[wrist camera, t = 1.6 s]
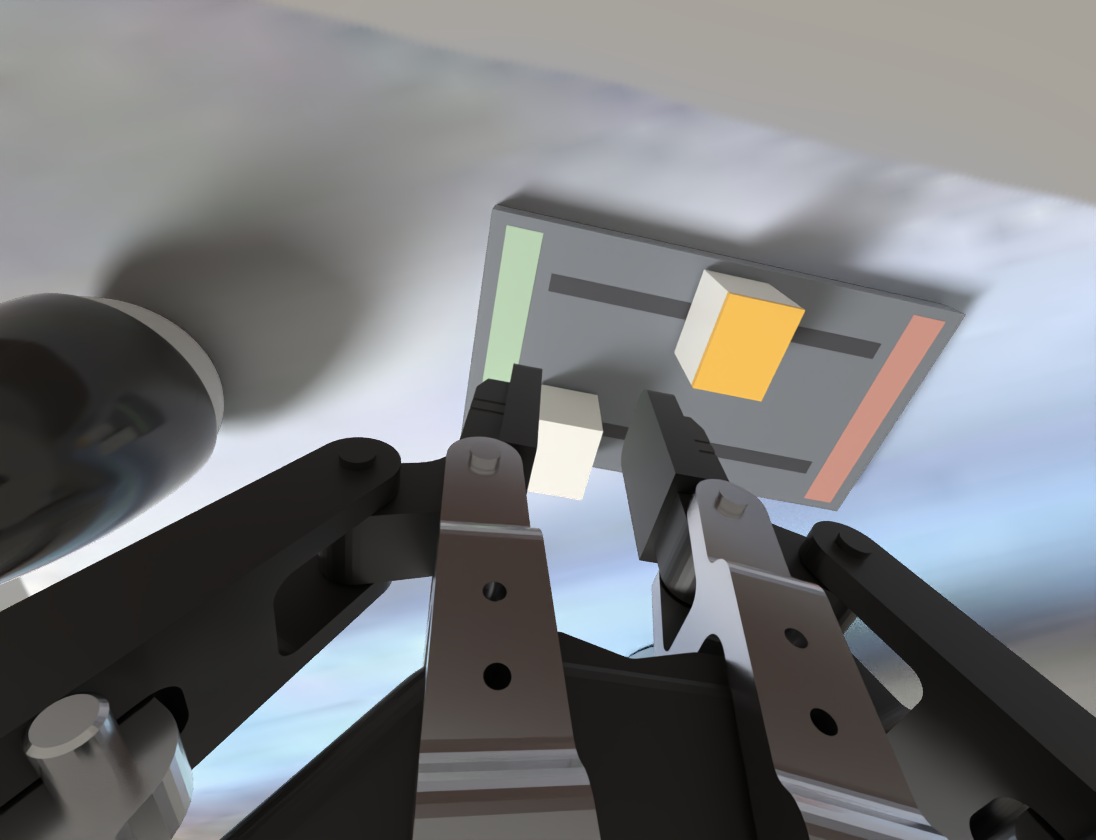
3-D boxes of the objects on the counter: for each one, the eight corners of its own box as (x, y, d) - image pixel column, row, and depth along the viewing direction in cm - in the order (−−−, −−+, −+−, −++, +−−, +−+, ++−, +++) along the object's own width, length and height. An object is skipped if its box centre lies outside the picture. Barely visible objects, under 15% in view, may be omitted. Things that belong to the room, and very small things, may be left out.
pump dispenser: (123, 224, 23) (-469, 349, 10) (296, 392, 27) (48, 637, 14) (10, 339, 26) (-558, 554, 13) (182, 474, 30) (-111, 739, 17)
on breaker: (597, 395, 25) (603, 431, 22) (579, 459, 27) (581, 500, 24) (539, 383, 25) (536, 419, 22) (524, 449, 27) (520, 489, 24)
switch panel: (944, 304, 24) (966, 314, 23) (824, 494, 30) (837, 511, 29) (496, 204, 22) (492, 209, 21) (464, 428, 28) (459, 443, 27)
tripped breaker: (768, 283, 22) (805, 310, 19) (733, 364, 24) (761, 401, 21) (704, 269, 22) (730, 293, 18) (674, 352, 24) (692, 388, 20)
